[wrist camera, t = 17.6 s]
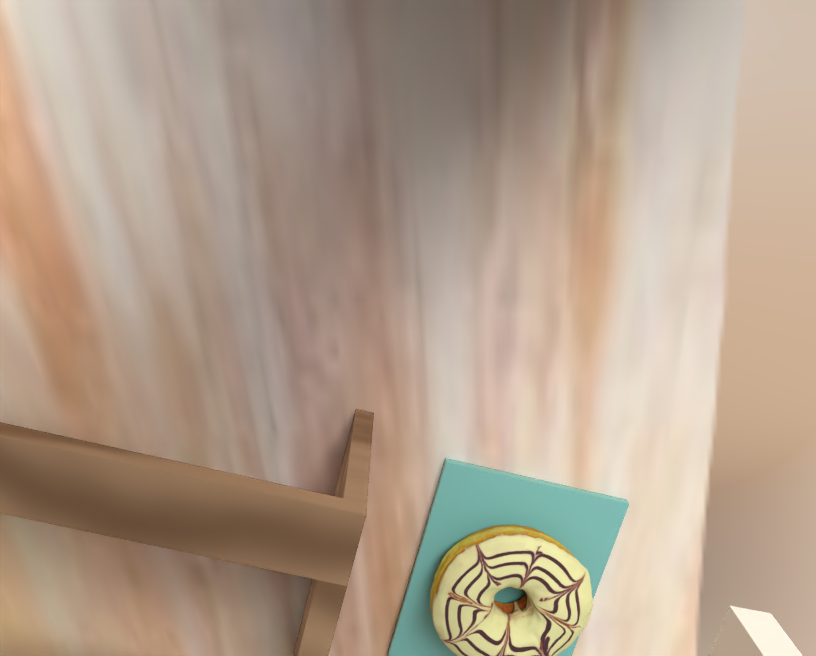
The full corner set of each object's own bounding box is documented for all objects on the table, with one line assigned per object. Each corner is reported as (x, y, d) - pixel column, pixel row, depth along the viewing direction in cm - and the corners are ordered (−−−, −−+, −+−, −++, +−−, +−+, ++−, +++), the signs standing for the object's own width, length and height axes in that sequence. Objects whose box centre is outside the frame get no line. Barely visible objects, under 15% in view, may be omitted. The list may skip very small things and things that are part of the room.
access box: (-43, 316, 44) (-220, 387, 31) (373, 413, 46) (366, 516, 33) (-68, 583, 49) (-229, 738, 36) (309, 659, 51) (281, 829, 38)
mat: (445, 458, 47) (446, 462, 46) (626, 499, 48) (629, 503, 47) (388, 651, 51) (387, 657, 50) (556, 685, 52) (557, 691, 51)
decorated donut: (551, 658, 51) (563, 698, 47) (411, 623, 49) (412, 662, 46) (603, 537, 48) (620, 570, 44) (456, 498, 47) (461, 528, 43)
